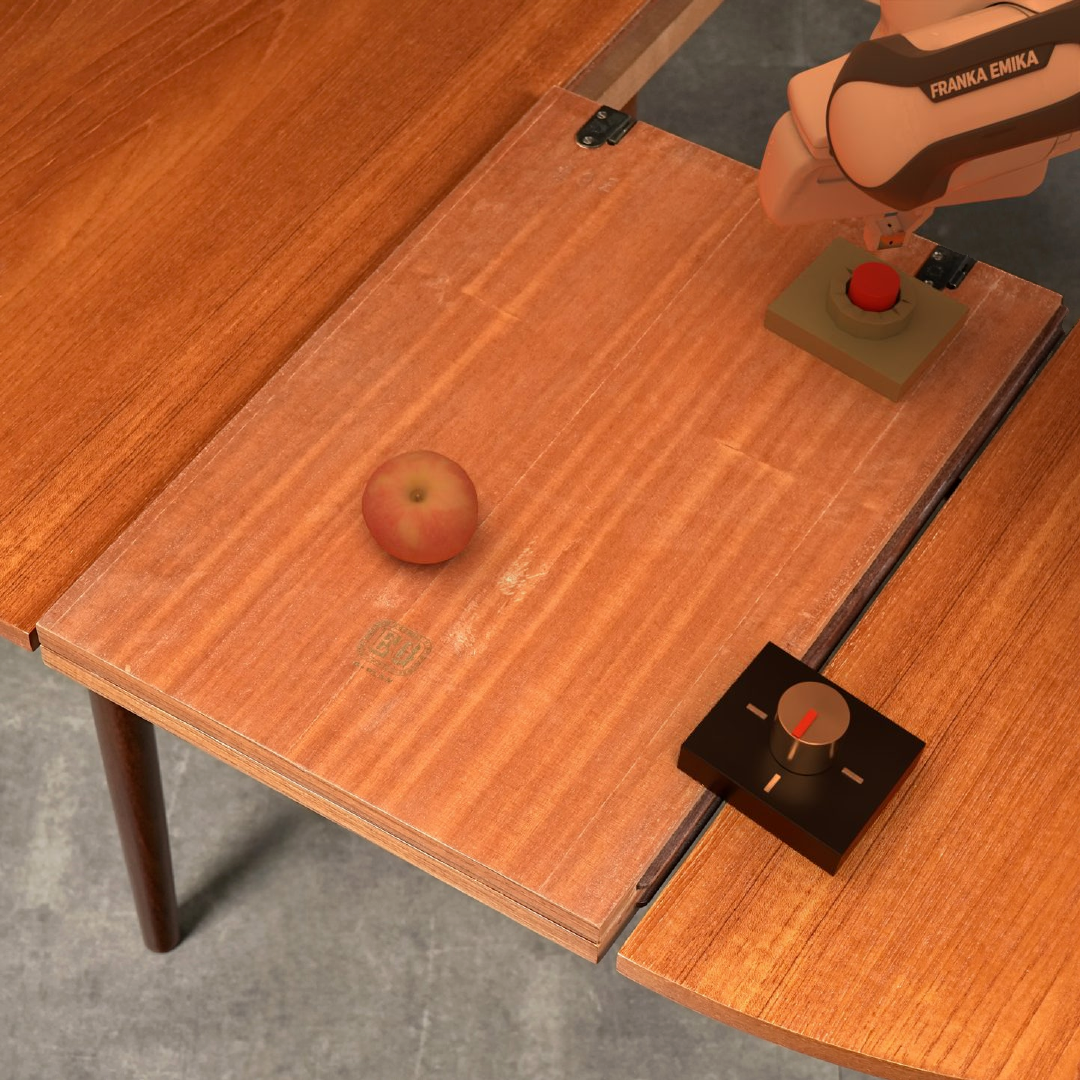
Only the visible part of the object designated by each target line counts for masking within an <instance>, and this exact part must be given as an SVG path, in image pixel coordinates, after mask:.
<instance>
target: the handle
mask: <svg viewBox="0 0 1080 1080" xmlns="http://www.w3.org/2000/svg"><path fill="white" fill-rule="evenodd" d="M849 722H850V712H849V708H848V705H847V703H846V701H845V700H844V698H843V697H842V696H841V695H840V694H839V693H838V692H837V691H836V690H834V689H833V688H831V687H830V686H827V685H825V684H822V683H818V682H803V683H799V684H796V685H794V686H792V687H790V688H789V689H788V690H786V692H785V693H784V694H783V695H782V697H781V699H780V701H779V704H778V708H777V711H776V715H775V718H774V722H773V726H772V729H771V733H770V738H769V743H770V748H771V751H772V754H773V755H774V757H775V759H776V760H777V761H778V762H779V763H780V764H781V765H782V766H783V767H785V768H786V769H788V770H790V771H792V772H795V773H798V774H803V775H812V774H817V773H821V772H823V771H825V770H826V769H828V768H829V767H830V766H832V764H833V763H834V762H835V760H836V759H837V756H838V754H839V751H840V748H841V745H842V742H843V740H844V737H845V734H846V731H847V728H848V725H849Z"/></svg>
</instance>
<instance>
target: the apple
mask: <svg viewBox="0 0 1080 1080" xmlns="http://www.w3.org/2000/svg"><path fill="white" fill-rule="evenodd" d="M475 486H476V485H475V484H474V482H473V481H472V479H471V477H470V475H469V474H468V473H467V471H466V470H465V469H464V467H462V466H461V465H460V464H459V463H458V462H456V461H455V460H453V459H451V458H449V457H448V456H446V455H444V454H442V453H440V452H438V451H433V450H425V449H424V450H423V449H421V450H413V451H407V452H403V453H400V454H398V455H396V456H393V457H391V458H389V459H387V460H386V461H384V462H383V463H382V464H380V465H379V466H378V467H377V468H376V469H375V470H374V471H373V473H372V474H371V476H370V477H369V479H368V481H367V483H366V485H365V488H364V490H363V493H362V498H361V513H362V517H363V521H364V523H365V525H366V528H367V529H368V530H369V533H370V534H371V536H372V538H373V540H374V541H375V542H376V543H377V544H378V546H380V547H381V549H383V550H384V551H386V553H387V554H388V555H390V556H392V557H394V558H395V559H398V560H401V561H404V562H408V563H412V564H422V565H425V564H437V563H441V562H444V561H447V560H450V559H451V558H454V557H456V556H457V555H458V554H460V553H461V552H462V551H463V550H464V549H465V548H466V547H467V545H468V544H469V543H470V541H471V539H472V538H473V536H474V532H475V530H476V527H477V522H478V517H479V498H478V494H477V493H478V492H477V489H476V487H475Z"/></svg>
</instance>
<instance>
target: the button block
mask: <svg viewBox="0 0 1080 1080" xmlns="http://www.w3.org/2000/svg"><path fill="white" fill-rule="evenodd" d="M867 262H880V263H884V264H886V265H888V266H890V267H892V268H893V269H894V270H895V271H896V272H897V273H898V275H899V277H900V287H899V291H898V294H897V298H896V301H895V303H894V304H893V306H892V307H890V308H889V309H887V310H885V311H881V312H871V311H865V310H863V309H861V308H859V307H857V306H856V305H855V304H854V303H853V302H852V301H851V299H850V297H849V287H850V283H851V279H852V275H853V272H854V270H855V269H856V268H857V267H858V266H860V265H861V264H864V263H867ZM970 309H971V307H970V306H968V305H966V304H964V303H963V302H960V301H959V300H957V299H955V298H953V297H951V296H949V295H948V294H946V293H945V292H942V291H940V290H939V289H937V288H935V287H933V286H931V285H930V284H927V283H926V282H924V281H922V280H920V279H919V278H917V277H915V276H913V275H911V274H909V273H907V272H906V271H904V270H902V269H900V268H898V267H896V266H894V265H893V264H891V263H889V262H887V261H885V260H884V259H881V258H880V257H878V256H876V255H874V254H873V253H871V252H870V251H867V250H866V249H863V248H862V247H859V246H858V245H856V244H854V243H853V242H851V241H849V240H846V239H845V238H843V237H841V236H840V235H837V236H836V237H835V238H834V239H833V240H832V241H831V242H830V243H829V244H828V245H827V246H826V247H825V249H824V250H822V252H820V253H819V254H818V256H817V257H815V259H814V260H812V262H811V263H809V265H808V266H807V267H806V268H805V269H804V270H803V271H802V272H801V273H800V274H799V275H798V276H797V277H796V278H795V279H794V280H793V281H792V282H791V283H790V284H789V285H788V286H787V287H786V288H785V289H784V290H783V291H782V292H781V293H780V294H779V296H777V297H776V298H775V299H774V300H773V301H772V302H771V303H770V304H769V305H768V307H766V311H765V312H766V313H765V318H764V322H763V328H765V330H768V331H769V332H771V333H772V334H774V335H776V336H778V337H780V338H782V339H783V340H785V341H787V342H789V343H790V344H792V345H794V346H795V347H797V348H798V349H801V350H803V351H804V352H805V353H808V354H809V355H810V356H813V357H815V358H816V359H818V360H820V361H821V362H823V363H825V364H827V365H828V366H830V367H832V368H834V369H836V370H837V371H839V372H840V373H842V374H843V375H845V376H848V377H849V378H851V379H853V380H854V381H856V382H858V383H860V384H862V385H863V386H864V387H867V388H868V389H869V390H872V391H874V392H875V393H877V394H879V395H880V396H882V397H884V398H886V399H888V400H889V401H891V402H893V403H894V404H897V403H898V402H899V401H900V400H901V399H902V398H903V397H904V395H905V394H906V393H907V392H908V391H909V390H910V388H911V387H912V386H913V385H914V384H915V383H916V382H917V381H918V379H920V377H921V376H922V375H923V374H924V373H925V371H926V370H928V368H929V367H931V365H932V364H933V363H934V362H935V360H936V359H937V358H938V357H939V356H940V355H941V353H942V352H943V351H944V350H945V349H946V348H947V346H948V345H949V344H950V343H951V342H952V341H953V340H954V339H955V337H956V336H957V335H958V334H959V333H960V332H961V331H962V330H963V328H964V327H965V324H966V322H967V319H968V316H969V313H970Z"/></svg>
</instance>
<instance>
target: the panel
mask: <svg viewBox="0 0 1080 1080" xmlns="http://www.w3.org/2000/svg"><path fill="white" fill-rule="evenodd" d="M803 682H818V683H822V684H825V685H827V686H830V687H831V688H833V689H834V690H836V691H837V692H838V693H839V694H840V695H841V696H842V697H843V698H844V700H845V701H846V703H847V705H848V708H849V712H850V722H849V725H848V728H847V731H846V734H845V737H844V740H843V742H842V745H841V748H840V751H839V754H838V756H837V759H836V760H835V762H834V763H833V764H832V766H830V767H829V768H828V769H826V770H825V771H823V772H821V773H817V774H812V775H803V774H798V773H795V772H792V771H790V770H788V769H786V768H785V767H783V766H782V765H781V764H780V763H779V762H778V761H777V760H776V759H775V757H774V755H773V754H772V751H771V748H770V743H769V738H770V733H771V729H772V726H773V722H774V718H775V715H776V711H777V708H778V704H779V701H780V699H781V697H782V695H783V694H784V693H785V692H786V690H788V689H789V688H790V687H792V686H794V685H796V684H799V683H803ZM926 746H927V743H926V742H925V741H924V740H922V739H921V738H920V737H918V736H917V735H916V734H915V735H914V734H913V733H912V732H910V731H909V730H907V729H905V728H904V727H903V726H901V725H900V724H898V723H896V722H895V721H894V720H892V719H890V718H889V717H887V716H886V715H884V714H883V713H881V712H879V711H878V710H877V709H875V708H873V707H872V706H870V705H869V704H868V703H866V702H864V701H863V700H861V699H859V698H858V697H857V696H856V695H854V694H852V693H851V692H849V691H848V690H846V689H844V688H843V687H842V686H840V685H838V684H836V683H835V682H833V681H832V680H830V679H829V678H828V677H826V676H824V675H823V674H821V673H820V672H819V671H817V670H815V669H814V668H812V667H810V666H809V665H808V664H806V663H805V662H803V661H801V660H800V659H798V658H797V657H795V655H792V654H791V653H790V652H788V651H786V650H785V649H783V648H782V647H780V646H778V645H777V644H775V643H774V642H773V641H771V640H768V641H767V643H765V645H764V647H763V648H761V650H760V651H759V652H758V653H757V655H755V657H754V658H753V659H752V660H751V662H750V663H749V664H748V665H747V667H745V669H744V670H743V671H742V672H741V674H740V675H739V676H738V677H737V678H736V679H735V680H734V682H733V683H732V684H731V685H730V686H729V688H728V689H727V690H726V691H725V692H724V693H723V695H722V696H721V697H720V698H719V699H718V701H717V702H716V703H715V704H714V705H713V706H712V708H711V709H710V710H709V711H708V712H707V713H706V715H705V716H704V717H703V718H702V719H701V721H700V722H699V723H698V724H697V725H696V726H695V728H694V729H693V730H692V732H691V733H690V734H688V736H687V737H686V738H685V740H684V741H683V742H682V743H681V744H680V748H679V752H678V753H679V754H678V758H677V764H676V768H677V769H679V770H680V771H682V772H683V773H684V774H686V775H687V776H689V777H690V778H691V777H692V778H691V779H693V780H694V779H695V780H694V781H696V782H697V781H698V782H697V783H699V782H700V783H701V784H700V783H699V784H700V785H702V784H703V785H704V786H705V788H706V789H707V790H709V791H710V792H712V794H714V795H716V796H717V797H719V798H720V799H722V800H723V801H724V802H726V804H728V805H730V806H731V807H733V808H735V809H736V810H737V811H738V812H740V813H742V814H743V815H744V816H746V817H747V818H749V819H750V820H752V821H753V822H754V823H755V824H757V825H759V827H762V828H763V829H764V830H766V831H767V832H768V833H770V834H771V835H773V836H774V837H776V838H777V839H779V840H780V841H781V842H783V843H784V844H786V845H787V846H789V847H790V848H791V849H793V850H795V851H796V852H797V853H799V854H800V855H802V857H804V858H806V859H807V860H808V861H810V862H812V863H813V864H815V865H816V866H817V867H819V868H820V869H822V870H823V871H825V872H826V873H827V874H829V875H830V876H831V877H835V875H836V874H837V873H838V871H839V870H840V869H841V868H842V866H843V865H844V864H845V862H846V861H847V859H849V857H850V855H851V854H852V853H853V851H854V850H855V849H856V847H857V846H858V845H859V843H860V842H861V841H862V840H863V838H864V837H865V835H866V834H867V833H868V832H869V830H870V829H871V827H872V826H873V825H874V823H875V822H876V821H877V819H878V818H879V817H880V816H881V814H882V813H883V812H884V810H885V809H886V807H887V806H888V805H889V803H890V802H891V801H892V799H893V798H894V797H895V795H896V794H897V793H898V791H899V790H900V788H901V787H902V786H903V784H904V783H905V782H906V781H907V779H908V778H909V776H911V774H912V773H913V771H914V770H915V768H916V767H917V766H918V765H919V762H920V759H921V757H922V756H923V753H924V750H925V748H926ZM703 785H702V786H703ZM704 786H703V787H704Z"/></svg>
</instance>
